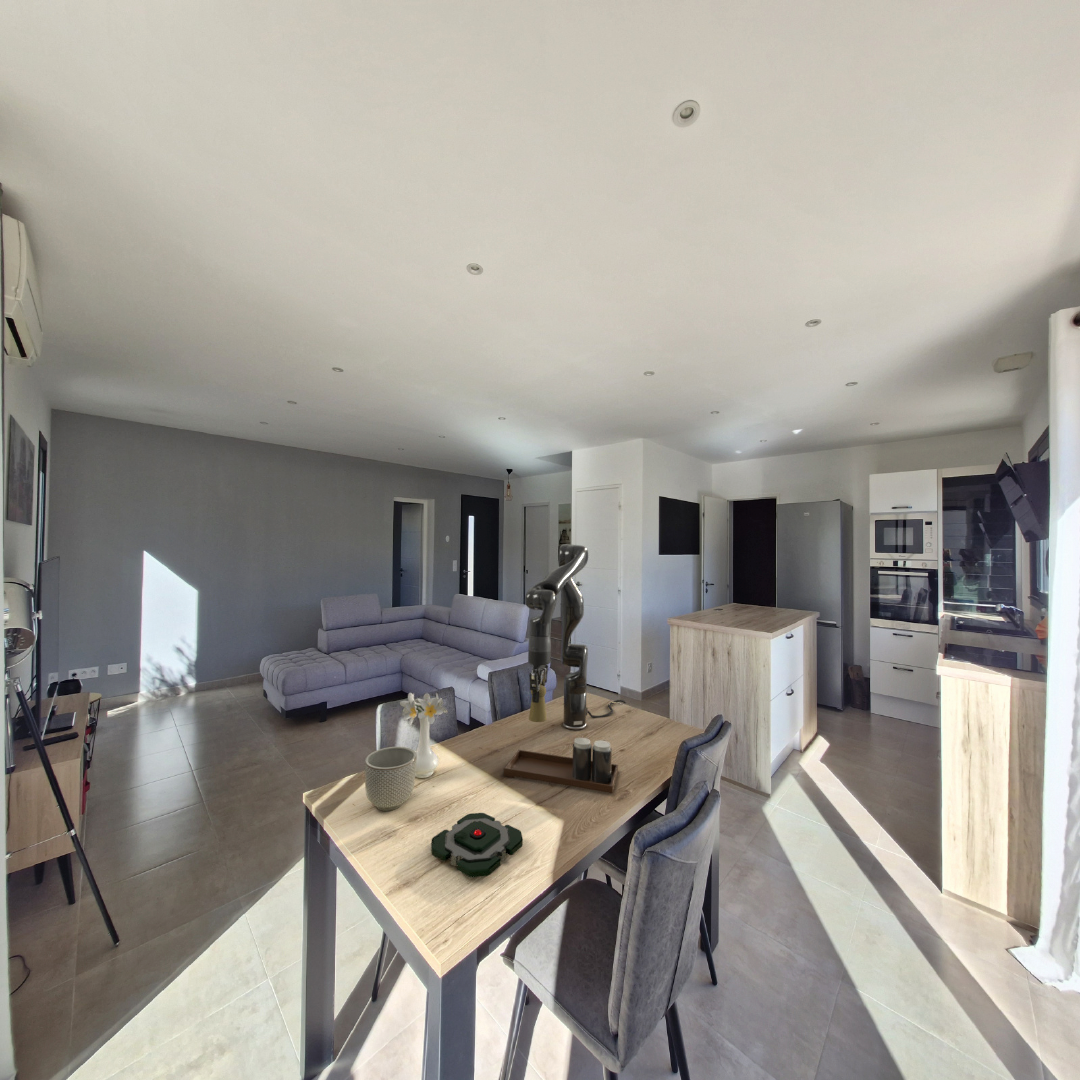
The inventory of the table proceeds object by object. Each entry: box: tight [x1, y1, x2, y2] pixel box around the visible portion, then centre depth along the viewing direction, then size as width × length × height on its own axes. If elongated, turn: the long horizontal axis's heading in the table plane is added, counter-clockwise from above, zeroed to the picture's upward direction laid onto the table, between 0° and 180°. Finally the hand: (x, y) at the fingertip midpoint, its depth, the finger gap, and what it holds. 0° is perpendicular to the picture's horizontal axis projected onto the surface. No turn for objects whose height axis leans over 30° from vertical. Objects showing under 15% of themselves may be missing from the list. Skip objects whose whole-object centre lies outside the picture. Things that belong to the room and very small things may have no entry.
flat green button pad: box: [430, 812, 524, 878], centre depth 107 cm, size 18×18×5 cm
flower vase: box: [399, 692, 449, 779], centre depth 144 cm, size 13×18×25 cm
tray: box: [503, 749, 619, 794], centre depth 145 cm, size 14×34×2 cm, turn 74°
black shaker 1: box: [572, 737, 593, 781], centre depth 143 cm, size 6×6×11 cm
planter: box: [363, 746, 417, 812], centre depth 126 cm, size 14×14×13 cm
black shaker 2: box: [592, 739, 613, 784], centre depth 141 cm, size 6×6×11 cm
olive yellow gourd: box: [528, 685, 548, 723], centre depth 151 cm, size 6×6×11 cm
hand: (538, 699), depth 151 cm, fingers closed on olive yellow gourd, 5 cm apart
